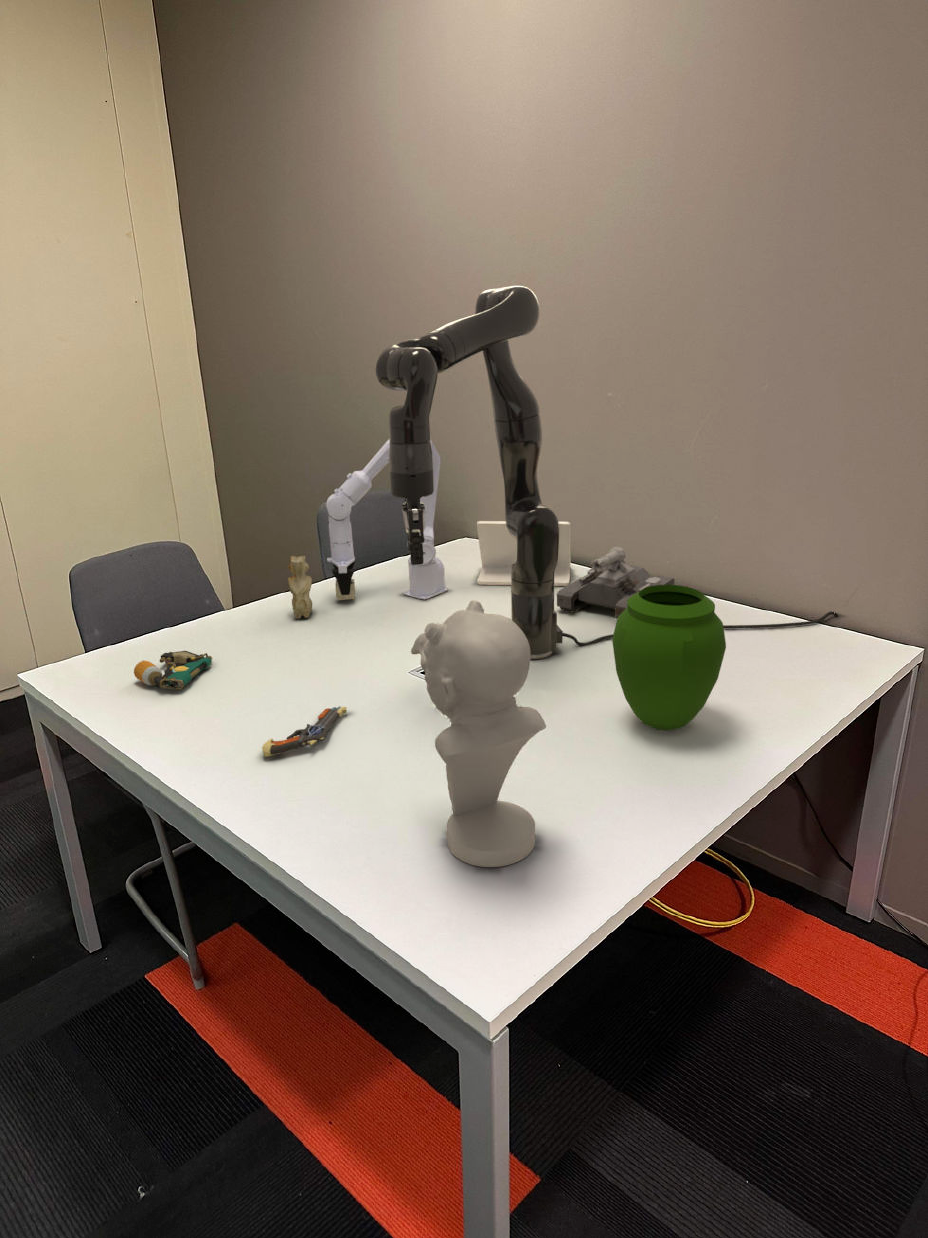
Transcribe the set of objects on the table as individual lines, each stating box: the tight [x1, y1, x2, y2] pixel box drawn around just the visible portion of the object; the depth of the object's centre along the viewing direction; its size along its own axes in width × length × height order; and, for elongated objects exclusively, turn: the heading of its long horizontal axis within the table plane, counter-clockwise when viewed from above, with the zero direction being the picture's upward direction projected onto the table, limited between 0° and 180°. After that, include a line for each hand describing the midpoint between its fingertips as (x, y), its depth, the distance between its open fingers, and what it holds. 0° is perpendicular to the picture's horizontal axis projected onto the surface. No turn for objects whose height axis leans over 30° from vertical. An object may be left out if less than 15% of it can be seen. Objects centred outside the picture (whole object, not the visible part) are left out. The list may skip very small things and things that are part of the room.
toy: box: [556, 546, 676, 620], centre depth 212 cm, size 25×20×15 cm
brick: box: [335, 578, 356, 601], centre depth 222 cm, size 4×5×4 cm
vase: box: [611, 584, 727, 731], centre depth 151 cm, size 20×20×24 cm
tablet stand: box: [476, 520, 572, 587], centre depth 236 cm, size 18×25×17 cm
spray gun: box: [133, 650, 213, 690], centre depth 180 cm, size 4×17×15 cm
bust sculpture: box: [410, 599, 547, 868], centre depth 121 cm, size 16×24×35 cm
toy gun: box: [261, 705, 348, 758], centre depth 154 cm, size 3×19×10 cm
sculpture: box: [287, 554, 313, 619], centre depth 211 cm, size 6×7×15 cm
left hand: (345, 591), depth 223 cm, fingers closed on brick, 4 cm apart
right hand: (415, 557), depth 154 cm, fingers open, 8 cm apart
